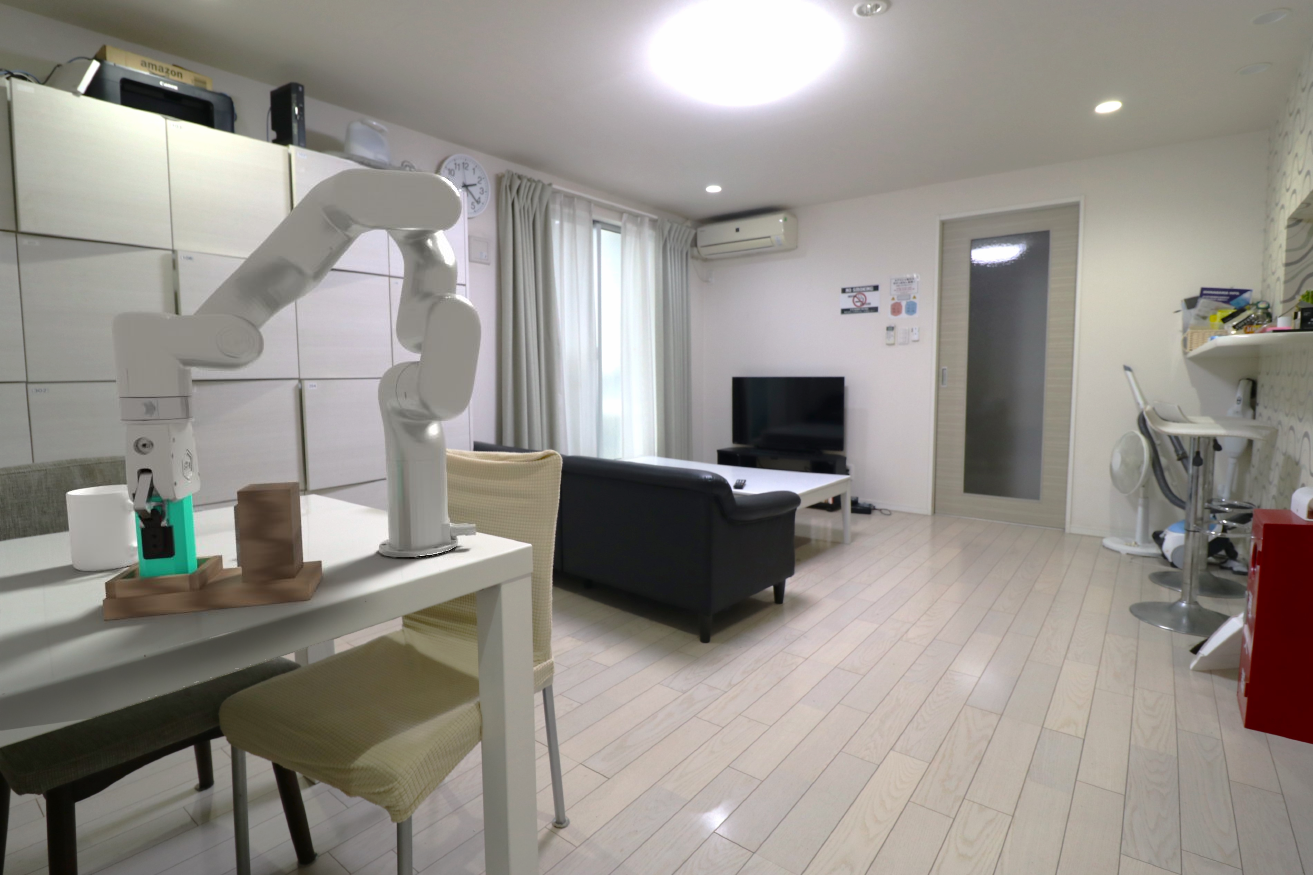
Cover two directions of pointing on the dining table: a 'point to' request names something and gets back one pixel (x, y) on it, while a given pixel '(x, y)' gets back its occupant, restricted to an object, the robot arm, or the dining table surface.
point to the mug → (102, 528)
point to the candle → (183, 542)
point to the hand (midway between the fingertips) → (168, 550)
